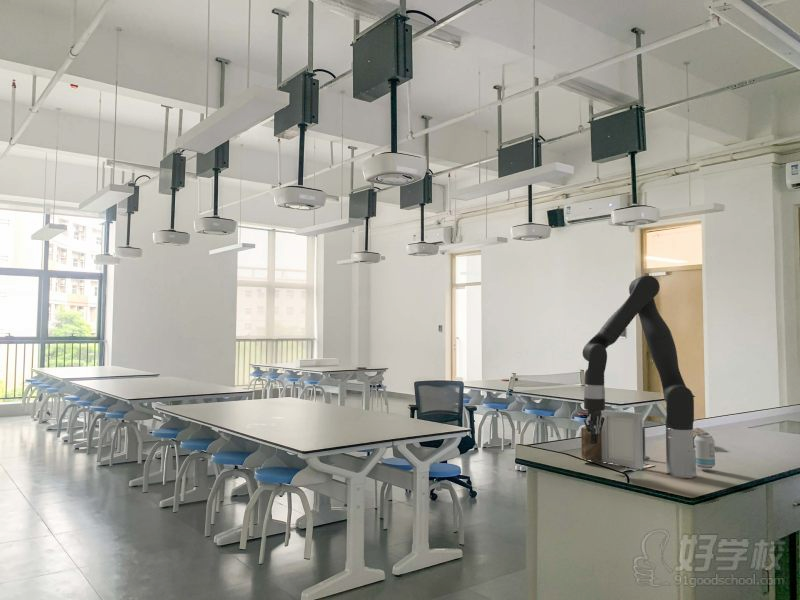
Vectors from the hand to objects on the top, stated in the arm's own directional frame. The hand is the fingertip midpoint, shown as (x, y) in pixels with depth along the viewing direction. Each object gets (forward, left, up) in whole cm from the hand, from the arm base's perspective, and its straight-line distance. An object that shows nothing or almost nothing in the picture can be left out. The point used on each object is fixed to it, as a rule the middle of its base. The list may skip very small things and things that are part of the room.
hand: (594, 443), depth 225 cm
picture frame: (-4, -15, -10) cm, 19 cm away
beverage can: (-28, -35, -10) cm, 46 cm away
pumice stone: (-12, -82, -10) cm, 83 cm away
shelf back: (+8, -21, -10) cm, 24 cm away
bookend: (0, -33, -10) cm, 34 cm away
